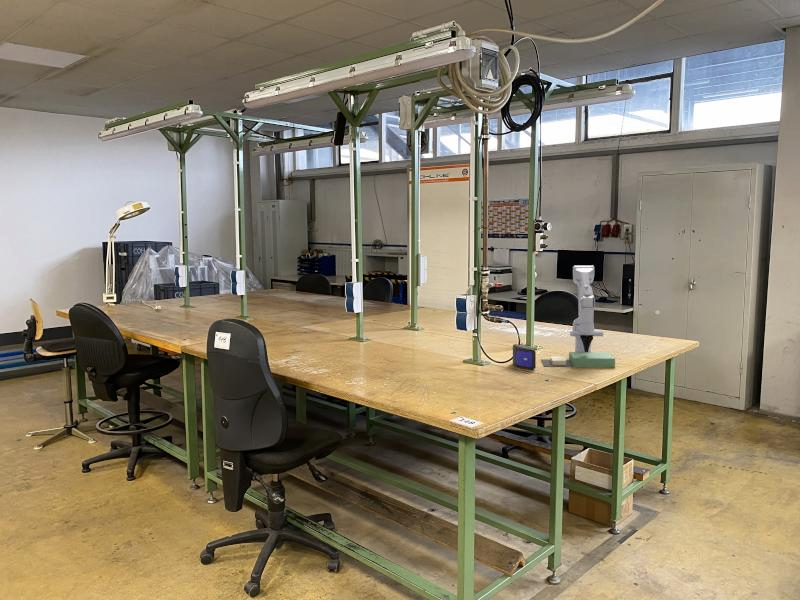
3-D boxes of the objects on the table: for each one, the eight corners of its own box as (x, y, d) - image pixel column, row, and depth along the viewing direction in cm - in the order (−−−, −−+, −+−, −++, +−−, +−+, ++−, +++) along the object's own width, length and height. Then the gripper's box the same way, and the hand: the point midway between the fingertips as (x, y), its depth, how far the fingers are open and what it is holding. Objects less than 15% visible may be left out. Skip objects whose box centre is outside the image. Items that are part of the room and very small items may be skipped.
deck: (569, 360, 289) (569, 351, 289) (608, 360, 287) (608, 352, 286) (573, 366, 276) (573, 358, 275) (614, 367, 273) (615, 358, 273)
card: (563, 356, 287) (563, 360, 287) (550, 356, 288) (550, 360, 288) (566, 360, 278) (566, 365, 278) (552, 360, 279) (552, 364, 279)
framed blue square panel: (507, 364, 284) (507, 344, 283) (515, 363, 286) (515, 343, 285) (527, 371, 269) (527, 350, 268) (536, 370, 271) (536, 349, 270)
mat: (541, 359, 291) (541, 359, 291) (569, 360, 289) (569, 359, 289) (543, 366, 277) (543, 365, 277) (573, 366, 276) (573, 366, 276)
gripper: (571, 323, 276) (571, 353, 278) (604, 323, 274) (604, 353, 276) (569, 321, 283) (569, 350, 285) (602, 321, 281) (601, 350, 283)
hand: (586, 351), depth 281 cm, fingers closed
